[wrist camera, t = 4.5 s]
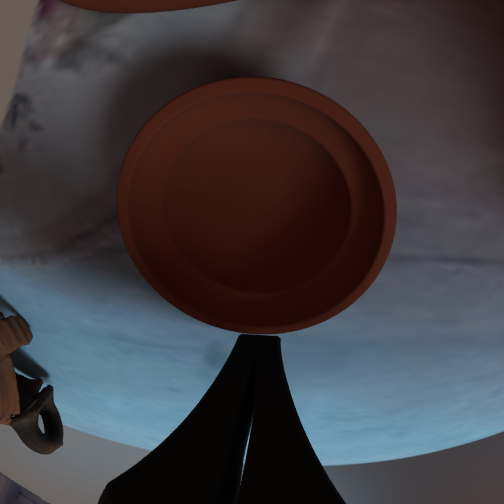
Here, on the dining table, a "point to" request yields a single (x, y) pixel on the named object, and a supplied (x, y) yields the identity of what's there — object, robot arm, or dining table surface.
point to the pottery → (253, 200)
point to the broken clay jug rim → (26, 393)
